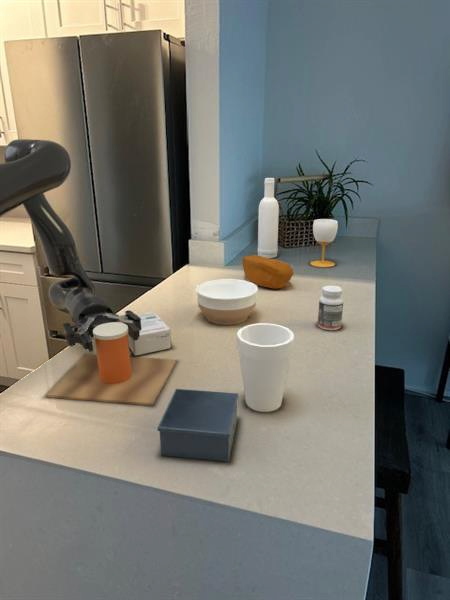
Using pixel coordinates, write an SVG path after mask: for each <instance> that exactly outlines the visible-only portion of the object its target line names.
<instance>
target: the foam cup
mask: <svg viewBox="0 0 450 600" xmlns="http://www.w3.org/2000/svg"><path fill="white" fill-rule="evenodd" d="M294 340H295V333H294V332H293V331H292V330H291V329H290V328H288V327H285V326H283V325H280V324H276V323H270V322H264V323H263V322H262V323H260V322H259V323H257V322H256V323H251V324H247V325H245V326H243V327H241V328H240V329H238V331H237V334H236V349H237V350H238V357H239V363H240V372H241V379H242V387H243V394H244V399H245V403H246V405H247V407H248V408H250V409H251V410H252V411H257V412H261V413H265V412H266V413H267V412H269V413H270V412H273V411H276V410H278V409H279V408H280V407H281V406H282V402H283V397H284V392H285V386H286V382H287V377H288V373H289V371H288V370H289V367H290V361H291V357H292V355H291V354H292V353H293V352H294V351H293V350H294V342H295V341H294Z"/></svg>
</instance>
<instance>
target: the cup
mask: <svg viewBox="0 0 450 600" xmlns="http://www.w3.org/2000/svg"><path fill="white" fill-rule="evenodd" d="M338 229H339V225H338V220H336V219H330V218H318V219H314V220H313V224H312V233H313V237H314V240H315V241H316V242H317V243H318V244H319V245H321V246H322V250H321V260H320V259H319V260H318V259H317V260H313V261H312V260H311V262H310V263H309V264H310V265H311V266H313V267H316V268H333V267H335V266H336V263H335V262H333V261H330V260H325V252H326V246H328V245H330V244H332V242H334V240H335V238H336V236H337V233H338Z"/></svg>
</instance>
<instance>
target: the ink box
mask: <svg viewBox="0 0 450 600" xmlns="http://www.w3.org/2000/svg"><path fill="white" fill-rule="evenodd" d="M136 315H137V316H138V317H140V318H141V328H142V330H140V331H139V333H140V337H138V340H135V341H134V340H133V339H132V338H131V337H130V336H129V335H128V343H129V350H131V352H132V353H133V355H134V357H137V356H140V355H145V354H150V353H154V352H160V351H163V350H169V349H171V348H172V334H171V328H170V327H169V326H168V325H167V324H166V323H165V321H163V320H162V319H161V318H160V316H159V315H158V314H157V313H156V312H155V311H150V312H144V313H140V314H136Z"/></svg>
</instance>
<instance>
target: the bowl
mask: <svg viewBox="0 0 450 600" xmlns="http://www.w3.org/2000/svg"><path fill="white" fill-rule="evenodd" d="M258 292H259V287H258V285H255V284H253V283H251V282H249V281H248V280H244V279H239V278H216V279H210V280H205V281H203V282H201V283H199V284H198V285H197V286H196V287H195V293H196V294H197V299H196V300H197V306H198V308H199V310H200V311H201V313H202V314H203V315H204V316H205V317H206V320H207V321H209V322H211V323H213V324H217V325H222V326H223V325H224V326H225V325H227V326H229V325H237V324H241V323H243V322H245V321H246V320H247V319H248V317H249V316H250V314H252V312H253V311H254V309H255V308H256V305H257V294H258Z"/></svg>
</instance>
